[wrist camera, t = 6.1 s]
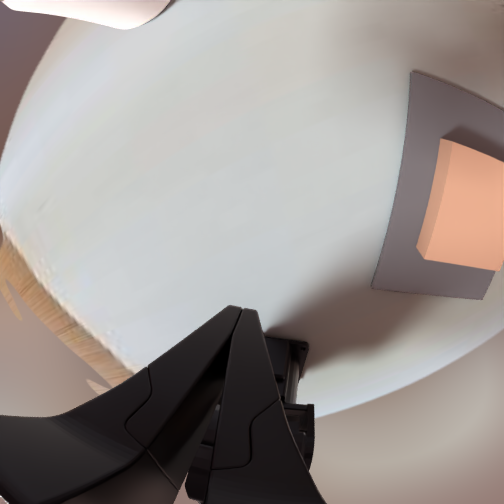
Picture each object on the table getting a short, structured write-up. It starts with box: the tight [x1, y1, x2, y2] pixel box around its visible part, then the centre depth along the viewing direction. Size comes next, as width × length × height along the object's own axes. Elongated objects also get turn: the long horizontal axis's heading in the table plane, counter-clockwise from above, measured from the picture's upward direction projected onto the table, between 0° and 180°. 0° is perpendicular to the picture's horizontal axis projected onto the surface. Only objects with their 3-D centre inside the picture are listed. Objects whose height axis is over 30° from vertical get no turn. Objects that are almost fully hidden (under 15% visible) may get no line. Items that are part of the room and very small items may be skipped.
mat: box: [371, 71, 504, 300], centre depth 15 cm, size 16×12×1 cm
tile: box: [416, 138, 504, 271], centre depth 14 cm, size 8×2×8 cm
